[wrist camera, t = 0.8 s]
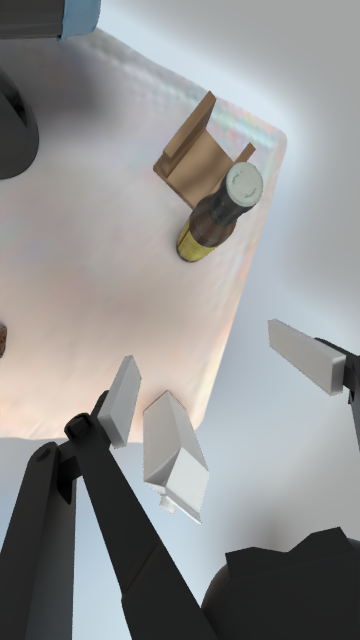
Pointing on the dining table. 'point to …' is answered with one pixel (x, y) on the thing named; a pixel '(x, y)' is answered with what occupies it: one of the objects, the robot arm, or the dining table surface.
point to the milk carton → (173, 457)
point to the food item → (2, 340)
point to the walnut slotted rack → (196, 157)
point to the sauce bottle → (220, 212)
